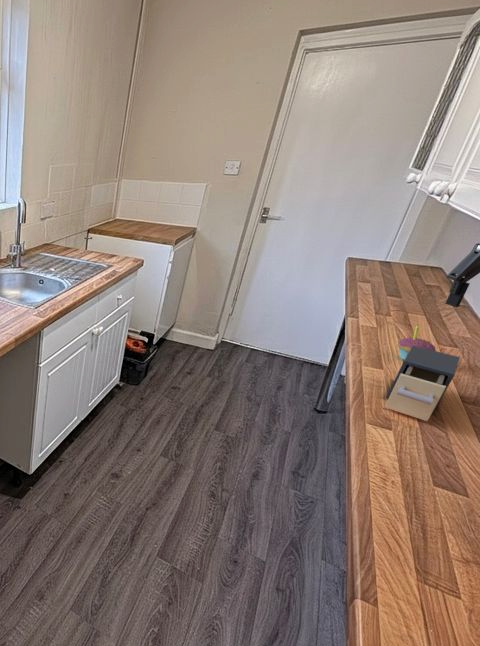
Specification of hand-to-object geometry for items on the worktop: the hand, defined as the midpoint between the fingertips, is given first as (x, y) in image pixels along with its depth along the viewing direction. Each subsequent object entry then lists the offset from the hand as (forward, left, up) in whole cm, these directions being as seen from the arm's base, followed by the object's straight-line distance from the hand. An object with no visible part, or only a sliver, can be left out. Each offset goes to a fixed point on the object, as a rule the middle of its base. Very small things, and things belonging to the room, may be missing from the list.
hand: (478, 305), depth 110 cm
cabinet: (+3, +14, -25) cm, 28 cm away
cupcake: (+7, -15, -25) cm, 30 cm away
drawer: (+3, +25, -24) cm, 35 cm away
